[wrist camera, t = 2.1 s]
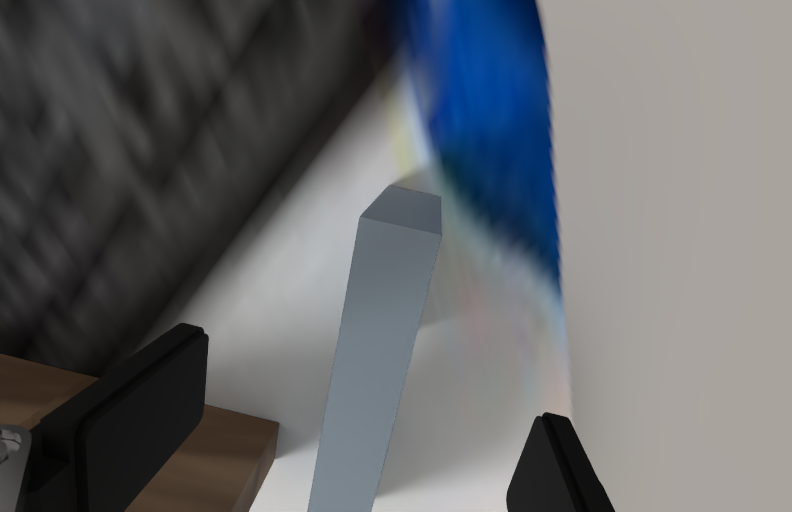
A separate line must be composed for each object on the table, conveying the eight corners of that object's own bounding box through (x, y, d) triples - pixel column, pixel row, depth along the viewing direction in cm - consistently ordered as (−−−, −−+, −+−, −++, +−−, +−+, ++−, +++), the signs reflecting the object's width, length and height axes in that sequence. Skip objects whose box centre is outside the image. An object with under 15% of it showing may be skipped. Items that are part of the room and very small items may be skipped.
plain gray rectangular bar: (388, 185, 18) (359, 216, 11) (440, 196, 18) (441, 235, 11) (328, 491, 24) (287, 625, 18) (366, 501, 24) (338, 639, 18)
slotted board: (-29, 346, 24) (-208, 429, 17) (279, 423, 23) (215, 539, 17) (-21, 385, 25) (-188, 477, 18) (274, 460, 24) (212, 584, 18)
